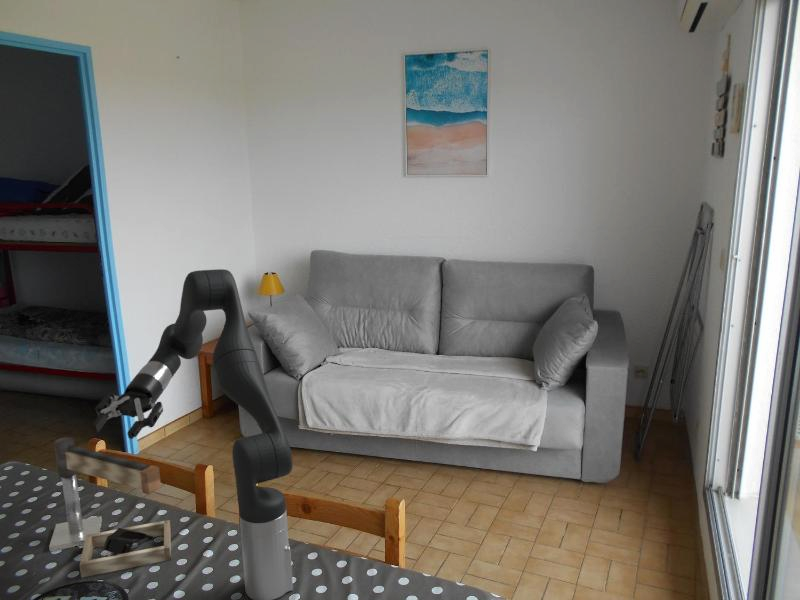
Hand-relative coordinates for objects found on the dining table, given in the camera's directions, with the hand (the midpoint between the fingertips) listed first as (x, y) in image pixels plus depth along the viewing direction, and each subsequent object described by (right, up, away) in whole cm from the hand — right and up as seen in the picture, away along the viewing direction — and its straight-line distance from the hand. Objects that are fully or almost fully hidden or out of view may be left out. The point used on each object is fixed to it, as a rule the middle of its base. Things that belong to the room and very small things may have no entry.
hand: (112, 432), depth 147 cm
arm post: (-11, -26, +7) cm, 29 cm away
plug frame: (+4, -27, -1) cm, 27 cm away
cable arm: (0, -11, -2) cm, 11 cm away
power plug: (+4, -27, 0) cm, 27 cm away
